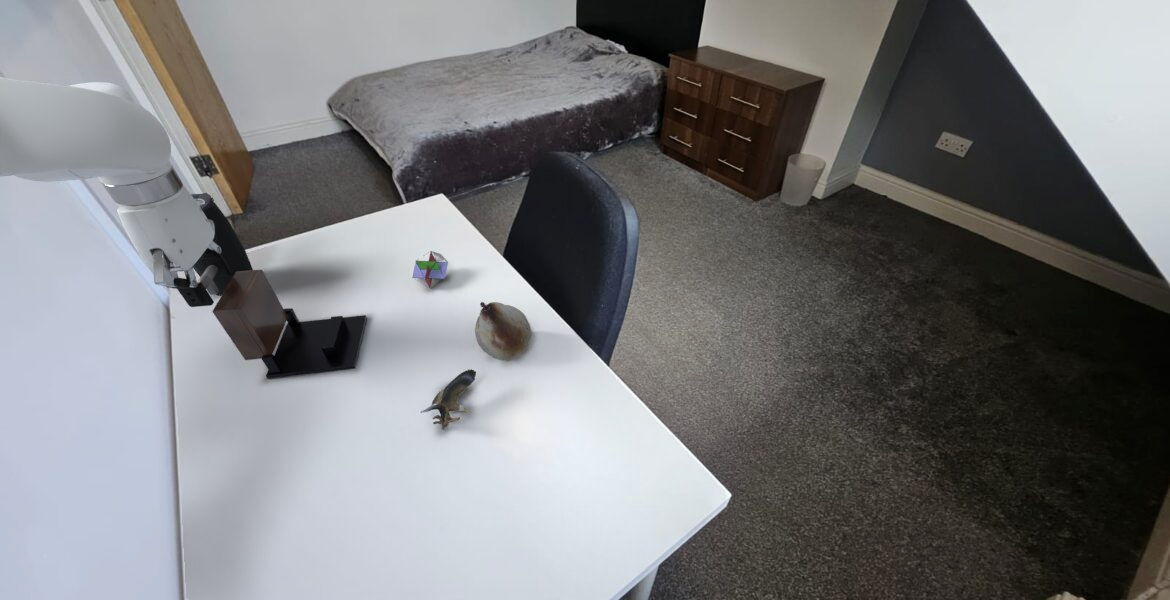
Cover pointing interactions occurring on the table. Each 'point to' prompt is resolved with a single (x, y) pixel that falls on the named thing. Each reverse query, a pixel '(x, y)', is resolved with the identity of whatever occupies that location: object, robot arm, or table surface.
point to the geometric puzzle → (431, 268)
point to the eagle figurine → (451, 398)
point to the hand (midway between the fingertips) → (212, 289)
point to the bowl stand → (316, 346)
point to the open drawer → (248, 311)
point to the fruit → (502, 331)
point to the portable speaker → (222, 242)
